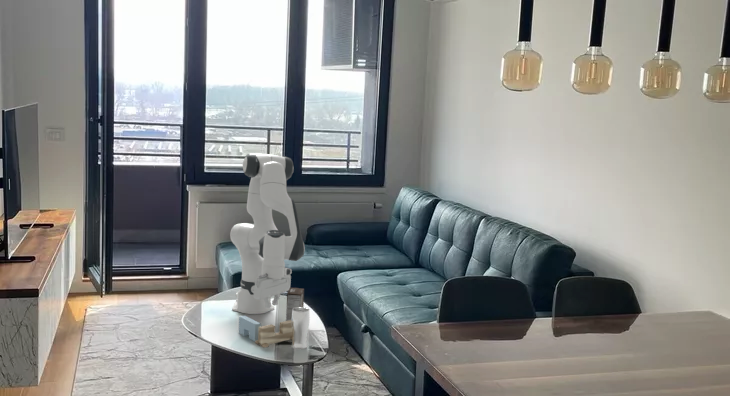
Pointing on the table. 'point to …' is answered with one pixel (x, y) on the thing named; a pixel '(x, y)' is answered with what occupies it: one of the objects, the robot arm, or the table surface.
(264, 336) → the birch rail
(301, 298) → the coffee box
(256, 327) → the notched blue-grey block
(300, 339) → the beer glass
